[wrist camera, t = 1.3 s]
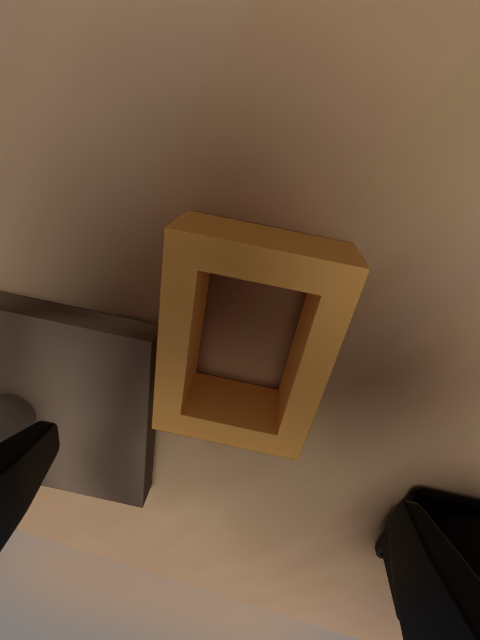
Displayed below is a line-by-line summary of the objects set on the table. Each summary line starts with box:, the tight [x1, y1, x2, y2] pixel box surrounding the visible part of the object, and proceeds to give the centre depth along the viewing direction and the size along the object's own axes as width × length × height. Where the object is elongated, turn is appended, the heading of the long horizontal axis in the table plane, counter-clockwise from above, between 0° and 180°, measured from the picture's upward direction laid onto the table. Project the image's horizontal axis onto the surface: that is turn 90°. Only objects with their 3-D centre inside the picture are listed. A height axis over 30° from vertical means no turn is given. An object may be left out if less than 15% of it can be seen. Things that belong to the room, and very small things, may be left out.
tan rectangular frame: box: [152, 210, 370, 460], centre depth 14 cm, size 7×9×3 cm
